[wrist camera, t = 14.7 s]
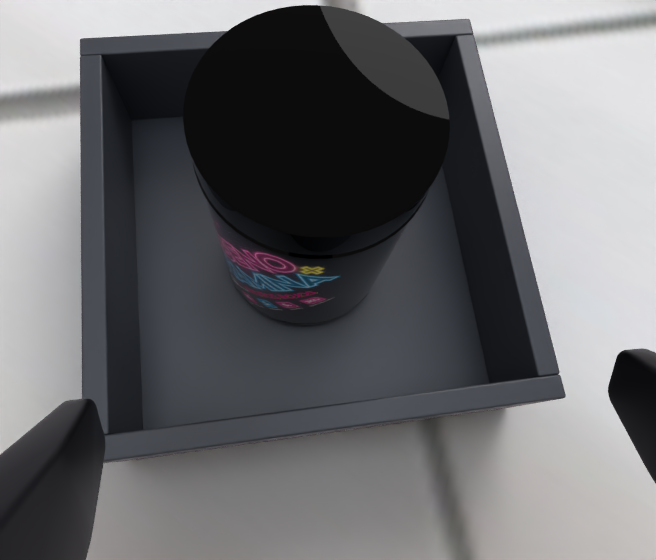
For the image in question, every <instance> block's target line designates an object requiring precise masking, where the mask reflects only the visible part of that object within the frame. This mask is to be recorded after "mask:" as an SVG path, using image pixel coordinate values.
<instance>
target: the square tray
mask: <svg viewBox="0 0 656 560" xmlns="http://www.w3.org/2000/svg"><path fill="white" fill-rule="evenodd" d="M382 24H384V25H386V26H388V27H390V28H391V29H393V30H394V31H396V32H397V33H399V34H400V35H401V36H402V37H404V38H405V39H406V40H407V41H409V42H410V43H411V44H412V45H413V46H414V47H415V48H416V49H417V50H418V51H419V52H420V53H421V55H422V56H423V57H424V58H425V59H426V61H427V62H428V63H429V65H430V66H431V68H432V69H433V71H434V73H435V74H436V76H437V78H438V80H439V82H440V84H441V87H442V89H443V92H444V95H445V98H446V101H447V106H448V111H449V121H450V132H449V142H448V148H447V152H446V155H445V159H444V162H443V164H442V167H441V169H440V171H439V173H438V175H437V177H436V178H435V180H434V182H433V184H432V185H431V187H430V189H429V191H428V194H427V196H426V198H425V200H424V202H423V203H422V205H421V207H420V209H419V210H418V212H417V213H416V214H415V216H414V217H413V218H412V220H411V221H410V222H409V223H408V225H407V227H406V229H405V230H404V232H403V234H402V236H401V237H400V239H399V241H398V243H397V245H396V246H395V248H394V250H393V252H392V253H391V255H390V257H389V259H388V260H387V262H386V264H385V266H384V267H383V269H382V271H381V273H380V274H379V276H378V278H377V280H376V281H375V283H374V285H373V287H372V288H371V290H370V292H369V293H368V294H367V296H366V297H365V298H364V299H363V300H362V301H361V302H360V303H359V304H358V305H357V306H356V307H355V308H353V309H352V310H351V311H349V312H348V313H346V314H344V315H343V316H341V317H338V318H336V319H334V320H331V321H328V322H324V323H319V324H312V325H297V324H290V323H285V322H281V321H278V320H275V319H273V318H270V317H268V316H266V315H264V314H263V313H261V312H259V311H258V310H256V309H255V308H254V307H252V306H251V305H250V304H249V303H248V302H247V301H246V300H245V299H244V298H243V297H242V296H241V294H240V293H239V292H238V290H237V289H236V287H235V286H234V284H233V282H232V280H231V278H230V275H229V272H228V269H227V266H226V263H225V260H224V257H223V253H222V250H221V247H220V244H219V241H218V237H217V234H216V231H215V228H214V225H213V221H212V218H211V215H210V212H209V208H208V205H207V202H206V199H205V197H204V195H203V193H202V191H201V189H200V187H199V184H198V181H197V178H196V175H195V172H194V167H193V162H192V158H191V155H190V152H189V149H188V145H187V142H186V137H185V132H184V123H183V107H184V100H185V94H186V90H187V87H188V83H189V81H190V78H191V76H192V74H193V71H194V69H195V68H196V66H197V64H198V62H199V61H200V59H201V58H202V57H203V55H204V54H205V52H206V51H207V50H208V49H209V48H210V47H211V46H212V44H213V43H214V42H215V41H217V40H218V39H219V38H220V37H221V36H222V35H223V34H225V33H226V32H227V31H222V32H202V33H182V34H162V35H143V36H123V37H103V38H83V39H80V126H81V284H82V399H91V400H93V401H94V403H95V404H96V407H97V410H98V414H99V418H100V421H101V425H102V428H103V432H104V436H105V445H106V446H105V456H104V462H103V463H109V462H119V461H130V460H137V459H144V458H151V457H158V456H165V455H173V454H180V453H187V452H194V451H201V450H208V449H216V448H223V447H230V446H237V445H244V444H251V443H259V442H266V441H273V440H280V439H287V438H294V437H302V436H309V435H316V434H323V433H330V432H337V431H345V430H352V429H359V428H366V427H373V426H380V425H388V424H395V423H402V422H409V421H416V420H423V419H431V418H438V417H445V416H452V415H459V414H466V413H474V412H481V411H488V410H495V409H502V408H509V407H515V406H521V405H526V404H532V403H538V402H544V401H550V400H556V399H562V398H565V392H564V388H563V384H562V380H561V376H560V375H558V374H559V368H558V364H557V360H556V356H555V352H554V348H553V344H552V340H551V337H550V333H549V329H548V325H547V321H546V317H545V313H544V309H543V305H542V301H541V297H540V293H539V289H538V286H537V282H536V278H535V274H534V270H533V266H532V262H531V258H530V254H529V250H528V246H527V242H526V238H525V235H524V231H523V227H522V223H521V219H520V215H519V211H518V207H517V203H516V199H515V195H514V191H513V187H512V183H511V180H510V176H509V172H508V168H507V164H506V160H505V156H504V152H503V148H502V144H501V140H500V136H499V132H498V129H497V125H496V121H495V117H494V113H493V109H492V105H491V101H490V97H489V93H488V89H487V85H486V81H485V78H484V74H483V70H482V66H481V62H480V58H479V54H478V50H477V46H476V42H475V38H474V35H473V31H472V27H471V23H470V20H469V19H458V20H439V21H419V22H399V23H382Z"/></svg>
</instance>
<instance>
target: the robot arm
mask: <svg viewBox="0 0 656 560" xmlns="http://www.w3.org/2000/svg"><path fill="white" fill-rule="evenodd" d="M608 393H609V398H610V401H611V403H612V405H613V407H614V408H615V410H616V412H617V414H618V416H619V418H620V420H621V422H622V423H623V425H624V427H625V429H626V431H627V433H628V435H629V437H630V438H631V440H632V442H633V444H634V446H635V448H636V450H637V452H638V454H639V455H640V457H641V459H642V461H643V463H644V465H645V466H646V468H647V470H648V472H649V473H650V475H651V477H652V478H653V480H654V482H655V483H656V353H655V352H652V351H650V350H647V349H632V350H624V351H622V352H620V353H619V355H618V356H617V359H616V362H615V365H614V369H613V372H612V376H611V379H610V383H609V387H608ZM105 446H106V445H105V436H104V432H103V428H102V425H101V421H100V418H99V414H98V410H97V407H96V404H95V403H94V401H93V400H91V399H79V400H69V401H65V402H64V403H62V404H61V405H60V406H58V407H57V408H56V409H55V410H54V411H52V412H51V413H50V414H49V415H48V416H46V417H45V418H44V419H43V420H42V421H40V422H39V423H38V424H37V425H36V426H34V427H33V428H32V429H31V430H30V431H28V432H27V433H26V434H25V435H24V436H22V437H21V438H20V439H19V440H18V441H16V442H15V443H14V444H13V445H11V446H10V447H9V448H8V449H7V450H5V451H4V452H3V453H2V454H1V455H0V560H86V557H87V553H88V549H89V545H90V541H91V535H92V530H93V524H94V518H95V512H96V506H97V499H98V493H99V487H100V481H101V474H102V468H103V462H104V456H105Z"/></svg>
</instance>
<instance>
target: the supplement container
mask: <svg viewBox="0 0 656 560" xmlns="http://www.w3.org/2000/svg"><path fill="white" fill-rule="evenodd" d="M183 123H184V132H185V137H186V142H187V145H188V149H189V152H190V155H191V158H192V162H193V167H194V172H195V175H196V178H197V181H198V184H199V187H200V189H201V191H202V193H203V195H204V197H205V199H206V202H207V205H208V208H209V212H210V215H211V218H212V221H213V225H214V228H215V231H216V234H217V237H218V241H219V244H220V247H221V250H222V253H223V257H224V260H225V263H226V266H227V269H228V272H229V275H230V278H231V280H232V282H233V284H234V286H235V287H236V289H237V290H238V292H239V293H240V294H241V296H242V297H243V298H244V299H245V300H246V301H247V302H248V303H249V304H250V305H251V306H252V307H254V308H255V309H256V310H258V311H259V312H261V313H263V314H264V315H266V316H268V317H270V318H273V319H275V320H278V321H281V322H285V323H290V324H297V325H312V324H319V323H324V322H328V321H331V320H334V319H336V318H338V317H341V316H343V315H344V314H346V313H348V312H349V311H351V310H352V309H353V308H355V307H356V306H357V305H358V304H359V303H360V302H361V301H362V300H363V299H364V298H365V297H366V296H367V294H368V293H369V292H370V290H371V288H372V287H373V285H374V283H375V281H376V280H377V278H378V276H379V274H380V273H381V271H382V269H383V267H384V266H385V264H386V262H387V260H388V259H389V257H390V255H391V253H392V252H393V250H394V248H395V246H396V245H397V243H398V241H399V239H400V237H401V236H402V234H403V232H404V230H405V229H406V227H407V225H408V223H409V222H410V221H411V220H412V218H413V217H414V216H415V214H416V213H417V212H418V210H419V209H420V207H421V205H422V203H423V202H424V200H425V198H426V196H427V194H428V191H429V189H430V187H431V185H432V184H433V182H434V180H435V178H436V177H437V175H438V173H439V171H440V169H441V167H442V164H443V162H444V159H445V155H446V152H447V148H448V142H449V132H450V121H449V111H448V106H447V101H446V98H445V95H444V92H443V89H442V87H441V84H440V82H439V80H438V78H437V76H436V74H435V73H434V71H433V69H432V68H431V66H430V65H429V63H428V62H427V61H426V59H425V58H424V57H423V56H422V55H421V53H420V52H419V51H418V50H417V49H416V48H415V47H414V46H413V45H412V44H411V43H410V42H409V41H407V40H406V39H405V38H404V37H402V36H401V35H400V34H399V33H397V32H396V31H394V30H393V29H391V28H390V27H388V26H386V25H384V24H382V23H381V22H379V21H377V20H374V19H372V18H370V17H368V16H365V15H362V14H359V13H356V12H353V11H349V10H345V9H341V8H335V7H329V6H318V5H303V6H291V7H285V8H279V9H275V10H271V11H267V12H264V13H262V14H259V15H256V16H254V17H251V18H249V19H247V20H245V21H243V22H241V23H240V24H238V25H236V26H234V27H233V28H231V29H230V30H229V31H227V32H226V33H225V34H223V35H222V36H221V37H220V38H219V39H218V40H217V41H215V42H214V43H213V44H212V46H211V47H210V48H209V49H208V50H207V51H206V52H205V54H204V55H203V57H202V58H201V59H200V61H199V62H198V64H197V66H196V68H195V69H194V71H193V74H192V76H191V78H190V81H189V83H188V87H187V90H186V94H185V100H184V107H183Z"/></svg>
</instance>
